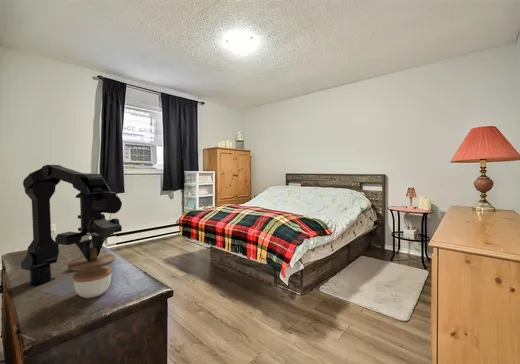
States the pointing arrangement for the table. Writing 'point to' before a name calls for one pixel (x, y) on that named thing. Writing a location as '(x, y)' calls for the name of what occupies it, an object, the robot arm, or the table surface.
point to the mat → (60, 288)
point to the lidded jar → (92, 281)
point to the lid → (91, 261)
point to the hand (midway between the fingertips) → (92, 258)
